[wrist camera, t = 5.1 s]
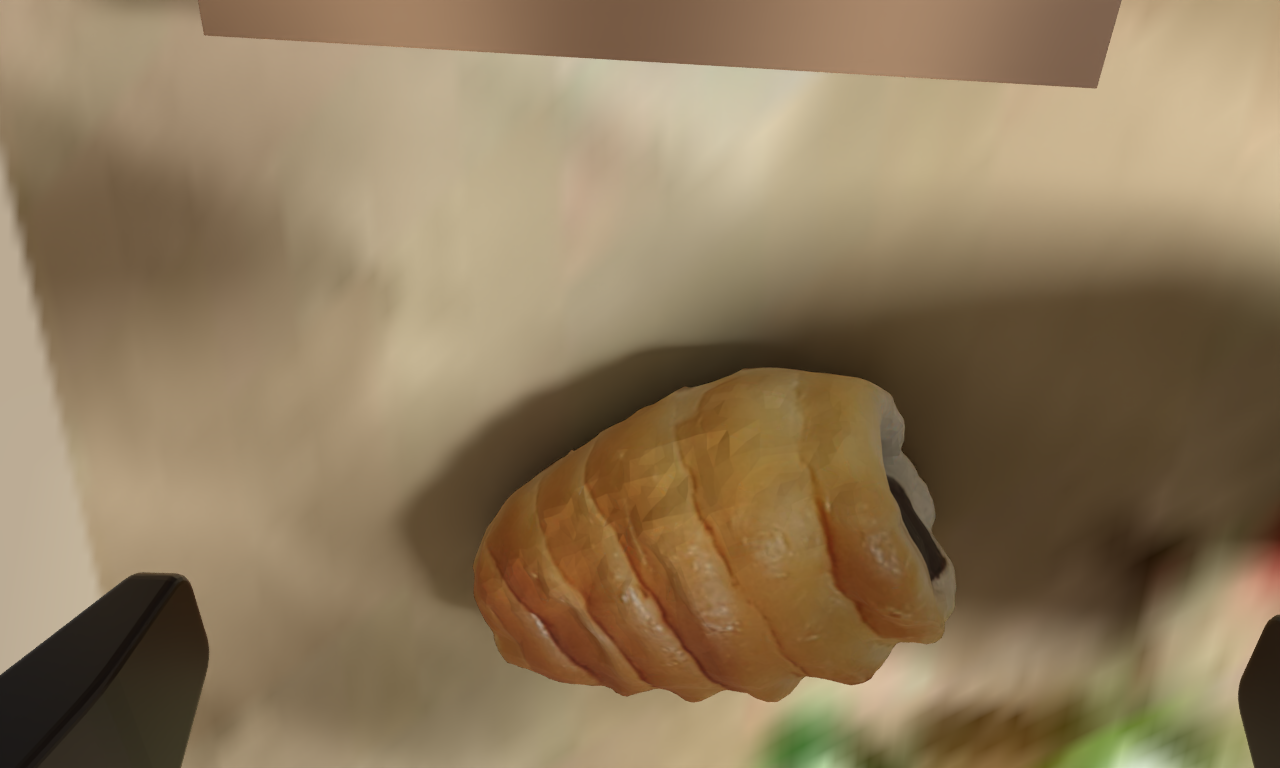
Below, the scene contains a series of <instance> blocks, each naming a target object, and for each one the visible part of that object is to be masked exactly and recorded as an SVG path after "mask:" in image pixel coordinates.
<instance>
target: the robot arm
mask: <svg viewBox="0 0 1280 768" xmlns="http://www.w3.org/2000/svg"><path fill="white" fill-rule="evenodd" d="M208 661H209V645H208V639H207V636H206V632H205V629H204V626H203V622H202V619H201V616H200V612H199V609H198V606H197V602H196V599H195V596H194V592H193V589H192V587H191V584H190V582H189V581H188V580H187V578H186V577H184V576H183V575H179V574H173V573H144V572H142V573H136V574H134V575H131V576H129V577H128V578H126V579H125V580H123V581H122V582H121V583H119V584H118V585H117V586H116V587H114V588H113V589H112V590H110V591H109V592H108V593H106V594H105V595H104V596H103V597H101V598H100V599H99V600H97V601H96V602H95V603H93V604H92V605H91V606H90V607H88V608H87V609H86V610H84V611H83V612H82V613H80V614H79V615H78V616H77V617H75V618H74V619H73V620H71V621H70V622H69V623H67V624H66V625H65V626H64V627H62V628H61V629H60V630H58V631H57V632H56V633H55V634H53V635H52V636H51V637H49V638H48V639H47V640H45V641H44V642H43V643H41V644H40V645H39V646H38V647H36V648H35V649H34V650H33V651H31V652H30V653H28V654H27V655H26V656H24V657H23V658H22V659H21V660H19V661H18V662H17V663H15V664H14V665H13V666H11V667H10V668H9V669H8V670H6V671H5V672H4V673H2V674H1V675H0V768H181V766H182V762H183V759H184V755H185V751H186V747H187V743H188V740H189V736H190V732H191V728H192V725H193V721H194V717H195V713H196V710H197V706H198V702H199V698H200V695H201V691H202V687H203V683H204V680H205V676H206V672H207V668H208ZM1238 701H1239V709H1240V714H1241V718H1242V722H1243V726H1244V729H1245V733H1246V737H1247V741H1248V745H1249V749H1250V753H1251V757H1252V761H1253V764H1254V768H1280V615H1276V616H1274V617H1273V618H1272V619H1270V620H1269V621H1268V622H1267V624H1266V626H1265V628H1264V630H1263V632H1262V634H1261V636H1260V638H1259V641H1258V643H1257V645H1256V647H1255V649H1254V651H1253V654H1252V656H1251V658H1250V660H1249V662H1248V664H1247V667H1246V669H1245V671H1244V673H1243V675H1242V678H1241V681H1240V685H1239V691H1238Z"/></svg>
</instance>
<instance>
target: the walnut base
mask: <svg viewBox="0 0 1280 768" xmlns="http://www.w3.org/2000/svg"><path fill="white" fill-rule="evenodd" d="M198 3H199V9H200V14H201V20H202V26H203V31H204V35H208V36H225V37H242V38H259V39H275V40H292V41H309V42H326V43H343V44H359V45H376V46H393V47H410V48H427V49H443V50H460V51H477V52H494V53H511V54H527V55H544V56H561V57H578V58H595V59H611V60H628V61H645V62H662V63H679V64H695V65H712V66H729V67H746V68H763V69H779V70H796V71H813V72H830V73H847V74H863V75H880V76H897V77H914V78H931V79H947V80H964V81H981V82H998V83H1015V84H1032V85H1048V86H1065V87H1082V88H1097V85H1098V82H1099V78H1100V75H1101V71H1102V67H1103V64H1104V60H1105V57H1106V53H1107V50H1108V46H1109V43H1110V39H1111V36H1112V32H1113V28H1114V25H1115V21H1116V18H1117V14H1118V11H1119V7H1120V4H1121V0H198Z"/></svg>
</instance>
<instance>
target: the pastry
mask: <svg viewBox="0 0 1280 768" xmlns="http://www.w3.org/2000/svg"><path fill="white" fill-rule="evenodd" d="M904 431H905V425H904V419H903V417H902V416H901V414H900V413H899V412H898V410H897V408H896V405H895V403H894V400H893V397H892V396H891V395H890V393H889V392H887V391H885V390H884V389H882V388H880V387H879V386H877V385H875V384H873V383H871V382H869V381H867V380H864V379H861V378H857V377H850V376H842V375H835V374H827V373H817V372H808V371H803V370H796V369H787V368H744V369H742V370H740V371H738V372H736V373H734V374H732V375H730V376H727V377H724V378H721V379H719V380H716V381H714V382H711V383H708V384H704V385H700V386H696V387H690V388H689V387H686V386H685V387H682V388H680V389H678V390H677V391H675V392H673V393H671V394H670V395H668V396H666V397H665V398H663V399H661V400H660V401H658V402H656V403H655V404H653V405H649V406H646V407H643V408H641V409H640V410H638V411H637V412H636V413H634V414H633V415H632V416H630V417H629V418H627V419H626V420H624V421H622V422H620V423H618V424H615V425H613V426H611V427H609V428H607V429H606V430H604V431H602V432H601V431H600V433H599V434H598V435H597V436H596V437H595V438H594V439H592V440H591V441H589V442H588V443H586V444H585V445H583V446H582V447H580V448H578V449H577V450H575V451H573V450H571V451H570V452H569V453H568V455H567V456H565V457H563V458H561V459H559V460H558V461H556V462H554V463H553V464H552V465H550V466H549V467H547V468H546V469H544V470H543V471H542V472H540V473H539V474H538V475H537V476H535V477H534V478H533V479H532V480H530V481H529V482H527V483H526V484H525V485H523V486H522V487H520V488H519V489H518V490H516V491H515V492H514V493H513V494H512V495H511V496H510V497H509V498H508V499H507V500H506V502H505V503H504V504H503V506H502V507H501V509H500V510H499V512H498V513H497V515H496V516H495V518H494V519H493V520H492V522H491V523H490V524H489V526H488V527H487V529H486V531H485V534H484V536H483V538H482V541H481V543H480V546H479V549H478V551H477V554H476V557H475V560H474V564H473V570H474V579H475V580H474V598H475V600H476V602H477V605H478V607H479V609H480V612H481V614H482V616H483V618H484V619H485V621H486V623H487V624H488V626H489V627H490V628H491V630H492V631H493V633H494V640H495V643H496V646H497V648H498V650H499V652H500V654H501V655H502V657H503V658H504V659H505V660H506V661H507V663H511V664H514V665H517V666H519V667H522V668H526V669H529V670H531V671H534V672H537V673H539V674H541V675H544V676H546V677H547V678H549V679H552V680H555V681H558V682H563V683H570V684H583V685H590V686H606V687H609V688H611V689H613V690H614V691H615V692H616V693H618V694H620V695H622V696H630V695H633V694H636V693H641V692H645V691H649V690H652V689H665V690H669V691H671V692H673V693H675V694H677V695H678V696H680V697H681V698H683V699H684V700H686V701H689V702H699V701H702V700H704V699H706V698H708V697H710V696H712V695H714V694H716V693H718V692H720V691H723V690H731V691H737V692H743V693H748V694H750V695H751V696H753V697H755V698H757V699H760V700H763V701H766V702H778V701H779V700H781V699H782V698H784V697H785V696H787V695H788V694H790V693H791V692H792V691H793V690H794V688H795V687H796V686H797V685H798V683H799V682H800V680H801V679H803V678H804V677H805V676H809V677H817V678H822V679H827V680H831V681H836V682H840V683H843V684H848V685H856V684H860V683H864V682H866V681H868V680H869V679H871V678H872V676H873V675H874V673H875V672H876V671H877V670H878V669H879V668H880V667H881V666H882V664H883V663H884V662H885V660H886V659H887V657H888V656H889V654H890V652H891V650H892V649H893V647H894V646H895V645H896V643H899V642H908V643H909V642H916V643H923V644H930V643H935V642H937V641H938V640H939V639H941V638H942V636H943V633H944V629H945V621H946V620H947V619H948V618H949V617H950V615H951V614H952V612H953V611H954V609H955V598H954V596H955V592H956V581H955V569H954V566H953V564H952V562H951V560H950V559H949V557H948V556H947V555H946V553H945V552H944V550H943V549H942V547H941V545H940V544H939V542H938V541H937V540H936V539H935V537H934V536H933V533H932V525H933V523H934V520H935V518H936V515H935V508H934V503H933V499H932V498H931V496H930V493H929V490H928V487H927V485H926V484H925V483H924V482H923V481H922V479H921V478H920V477H919V476H918V474H917V471H916V469H915V467H914V465H913V464H912V463H911V461H910V460H909V459H908V458H907V457H906V456H905V455H904V454H903V452H902V451H901V447H902V444H903V442H904Z"/></svg>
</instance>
